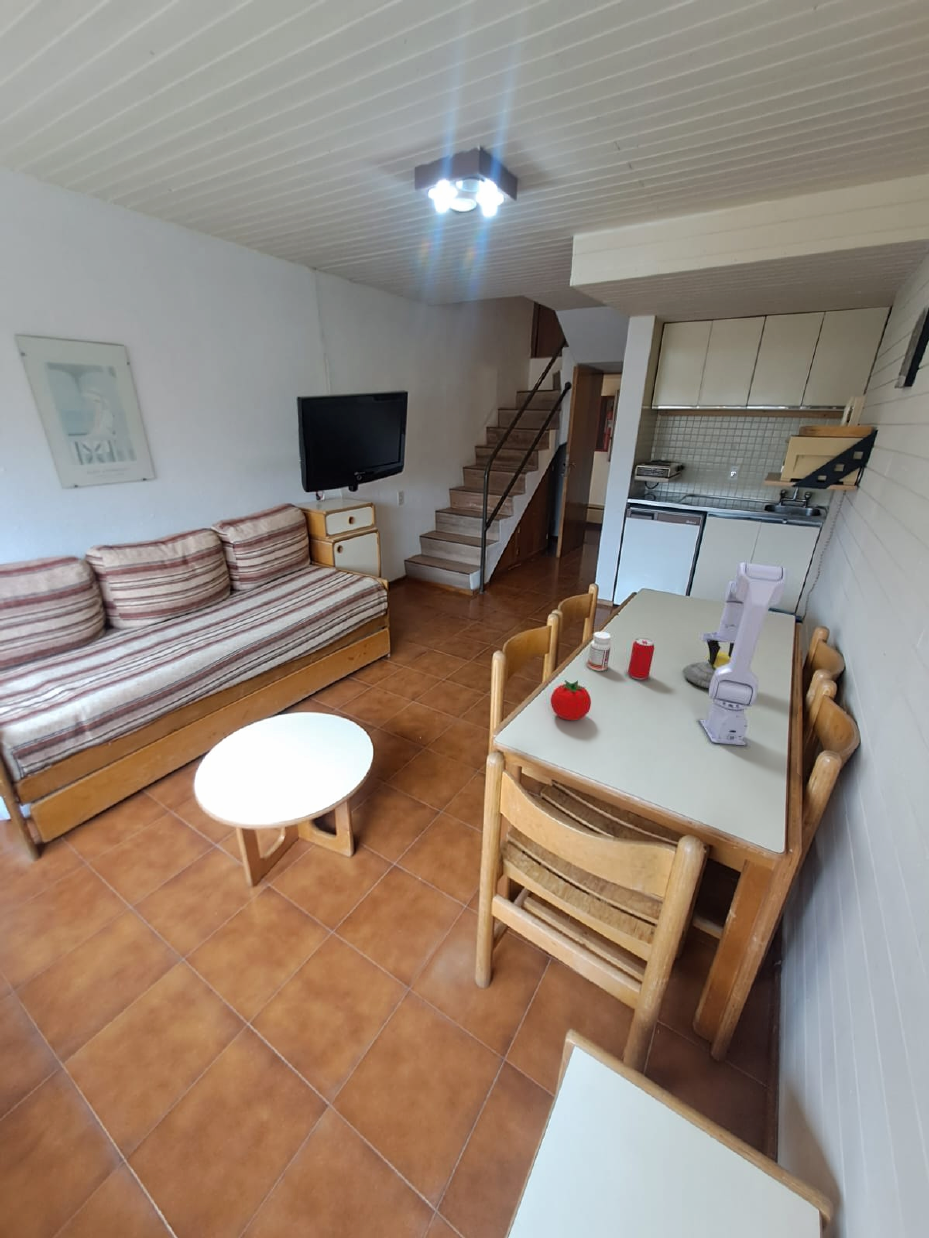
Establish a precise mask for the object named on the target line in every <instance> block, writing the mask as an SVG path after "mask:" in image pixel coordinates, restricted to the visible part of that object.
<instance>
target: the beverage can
mask: <svg viewBox="0 0 929 1238" xmlns="http://www.w3.org/2000/svg"><path fill="white" fill-rule="evenodd" d="M654 652H655V644H654V641H653V640H652V639H650V638H647V637H636V638H635V640H634V641H633V643H632V648H631V653H630V657H629V663H628V669H627V673H628V675H629V676H630V677H632V678H633V679H635V680H645V679H648V678H649V676H650V671H651V667H652V662H653V657H654Z"/></svg>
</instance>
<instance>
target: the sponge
mask: <svg viewBox="0 0 929 1238" xmlns="http://www.w3.org/2000/svg"><path fill="white" fill-rule="evenodd" d="M709 661H710V654H709V653H708V658H707V663H710V662H709ZM729 661H730V657H729V656H728V653H726V651H719V652H718V654H717V657H716V660H715V663H714V665H712V664H711V663H710V665H711V666H712V667H713V669H714V670H716V668H718V667H720V666H723V665H726V664H728V663H729Z"/></svg>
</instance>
